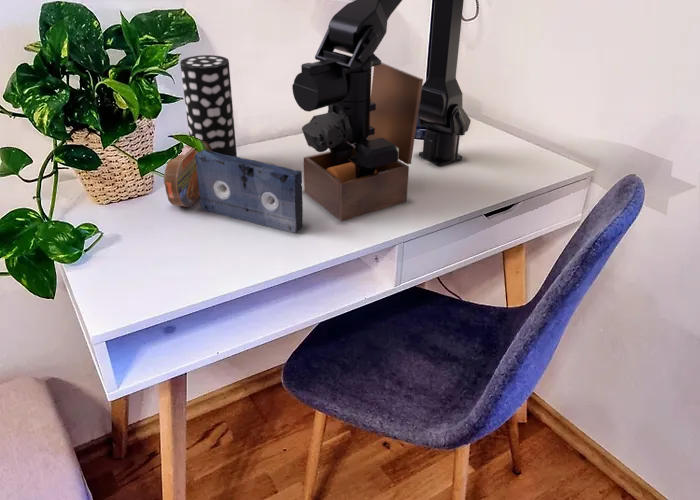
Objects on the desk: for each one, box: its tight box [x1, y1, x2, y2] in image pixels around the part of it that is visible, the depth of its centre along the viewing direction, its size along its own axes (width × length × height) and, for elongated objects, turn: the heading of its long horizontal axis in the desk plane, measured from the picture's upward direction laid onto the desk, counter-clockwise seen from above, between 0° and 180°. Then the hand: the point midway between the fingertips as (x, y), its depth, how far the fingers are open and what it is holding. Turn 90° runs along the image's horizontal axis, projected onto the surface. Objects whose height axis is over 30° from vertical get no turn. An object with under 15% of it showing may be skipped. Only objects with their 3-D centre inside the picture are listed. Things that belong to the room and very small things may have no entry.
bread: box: [326, 162, 377, 182], centre depth 107 cm, size 8×5×5 cm
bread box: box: [303, 146, 410, 222], centre depth 108 cm, size 13×12×7 cm
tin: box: [163, 141, 212, 208], centre depth 107 cm, size 15×3×8 cm, turn 168°
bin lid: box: [367, 61, 424, 165], centre depth 106 cm, size 14×12×1 cm
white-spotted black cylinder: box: [179, 54, 238, 157], centre depth 114 cm, size 8×8×20 cm
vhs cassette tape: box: [195, 149, 304, 234], centre depth 100 cm, size 18×3×10 cm, turn 64°
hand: (351, 184), depth 108 cm, fingers closed on bread, 5 cm apart
